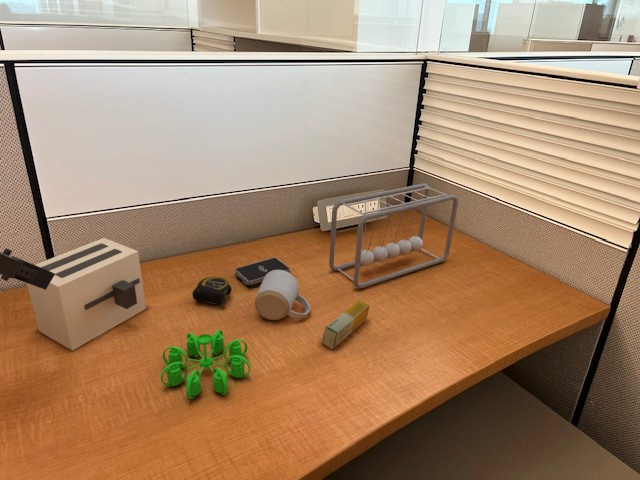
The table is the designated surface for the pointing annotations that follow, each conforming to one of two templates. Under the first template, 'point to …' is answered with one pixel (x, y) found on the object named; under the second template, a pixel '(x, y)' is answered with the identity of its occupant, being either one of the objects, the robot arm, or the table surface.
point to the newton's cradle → (391, 248)
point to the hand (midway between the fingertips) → (47, 280)
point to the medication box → (345, 324)
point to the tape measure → (212, 290)
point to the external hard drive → (259, 271)
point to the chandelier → (205, 363)
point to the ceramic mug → (279, 296)
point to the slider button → (124, 294)
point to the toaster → (86, 292)
